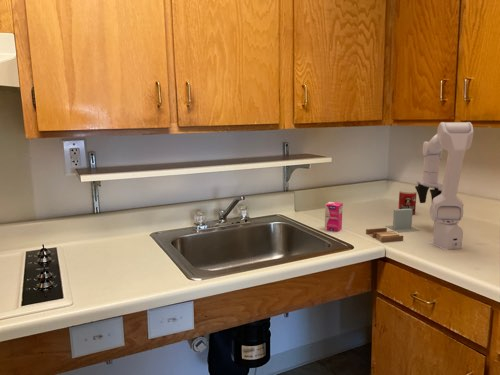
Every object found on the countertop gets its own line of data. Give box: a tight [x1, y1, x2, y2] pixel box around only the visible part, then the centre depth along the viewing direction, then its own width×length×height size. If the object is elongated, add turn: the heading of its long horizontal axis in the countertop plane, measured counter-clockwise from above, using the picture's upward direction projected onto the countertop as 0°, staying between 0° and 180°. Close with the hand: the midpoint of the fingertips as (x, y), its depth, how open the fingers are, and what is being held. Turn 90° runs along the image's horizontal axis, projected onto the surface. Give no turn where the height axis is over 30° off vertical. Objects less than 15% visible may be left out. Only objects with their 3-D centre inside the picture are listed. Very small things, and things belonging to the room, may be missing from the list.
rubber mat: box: [384, 225, 421, 234], centre depth 166 cm, size 10×10×1 cm
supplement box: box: [324, 201, 344, 233], centre depth 165 cm, size 6×6×12 cm
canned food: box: [398, 189, 418, 216], centre depth 194 cm, size 8×8×11 cm
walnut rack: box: [365, 227, 404, 244], centre depth 154 cm, size 12×9×2 cm
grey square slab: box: [392, 209, 413, 230], centre depth 166 cm, size 2×8×8 cm, turn 103°
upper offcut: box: [377, 231, 400, 238], centre depth 152 cm, size 4×7×1 cm, turn 103°
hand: (428, 204), depth 165 cm, fingers open, 7 cm apart
